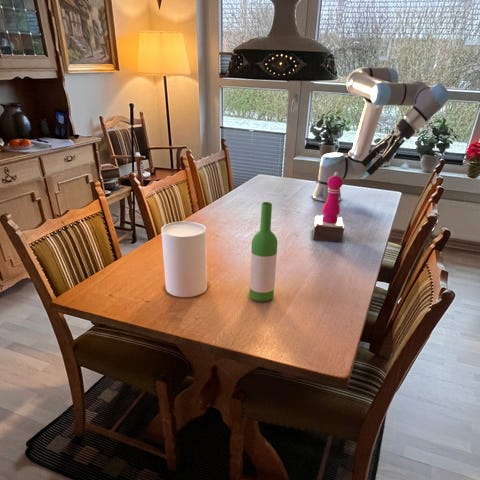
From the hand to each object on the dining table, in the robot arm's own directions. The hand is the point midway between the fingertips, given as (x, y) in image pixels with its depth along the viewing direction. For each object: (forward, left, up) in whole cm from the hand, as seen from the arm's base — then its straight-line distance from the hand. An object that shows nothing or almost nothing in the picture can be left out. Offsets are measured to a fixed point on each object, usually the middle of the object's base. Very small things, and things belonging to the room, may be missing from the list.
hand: (365, 168), depth 166 cm
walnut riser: (-1, -12, -28) cm, 31 cm away
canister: (+38, -76, -28) cm, 89 cm away
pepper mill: (-1, -12, -21) cm, 24 cm away
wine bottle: (+48, -53, -28) cm, 77 cm away
